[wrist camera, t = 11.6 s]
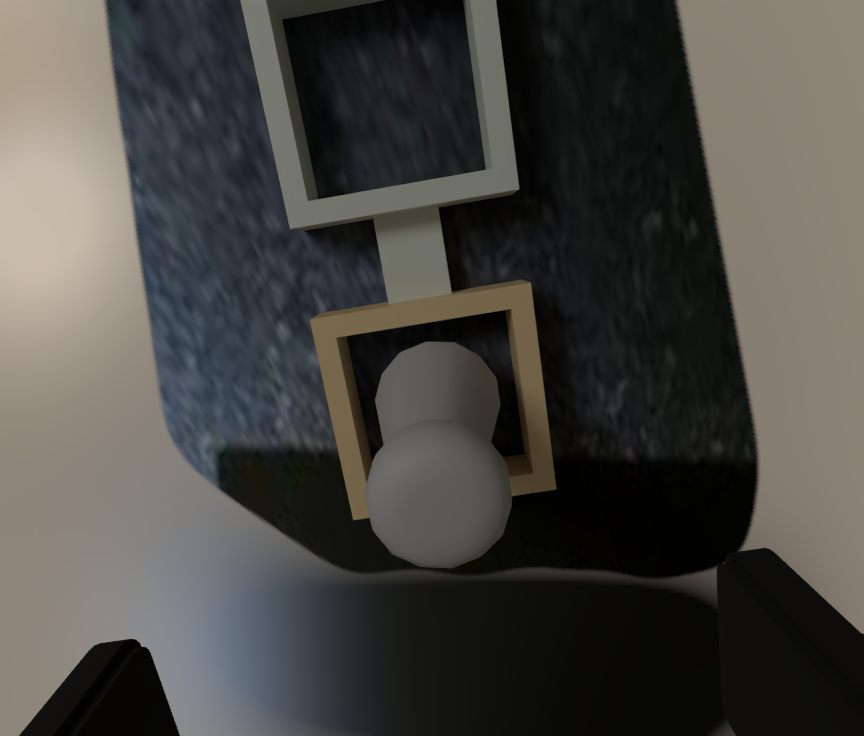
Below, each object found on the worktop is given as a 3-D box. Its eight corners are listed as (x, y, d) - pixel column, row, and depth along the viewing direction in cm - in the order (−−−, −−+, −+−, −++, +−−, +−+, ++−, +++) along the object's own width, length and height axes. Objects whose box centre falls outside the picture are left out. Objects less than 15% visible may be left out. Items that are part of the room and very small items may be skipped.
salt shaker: (432, 309, 26) (430, 366, 14) (517, 382, 27) (590, 501, 14) (357, 395, 27) (290, 524, 15) (442, 463, 28) (448, 642, 15)
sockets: (254, -2, 23) (233, -31, 21) (480, -45, 23) (485, -80, 20) (360, 496, 28) (353, 519, 26) (545, 468, 28) (556, 489, 26)
